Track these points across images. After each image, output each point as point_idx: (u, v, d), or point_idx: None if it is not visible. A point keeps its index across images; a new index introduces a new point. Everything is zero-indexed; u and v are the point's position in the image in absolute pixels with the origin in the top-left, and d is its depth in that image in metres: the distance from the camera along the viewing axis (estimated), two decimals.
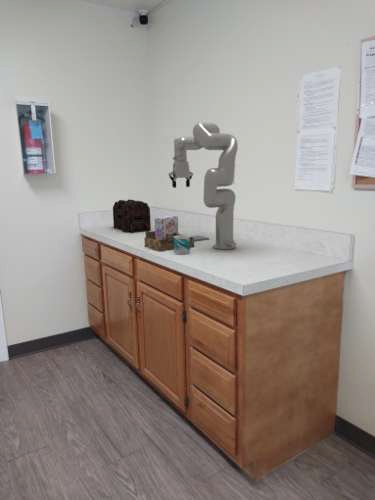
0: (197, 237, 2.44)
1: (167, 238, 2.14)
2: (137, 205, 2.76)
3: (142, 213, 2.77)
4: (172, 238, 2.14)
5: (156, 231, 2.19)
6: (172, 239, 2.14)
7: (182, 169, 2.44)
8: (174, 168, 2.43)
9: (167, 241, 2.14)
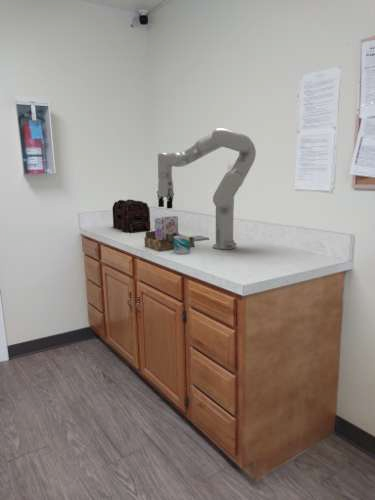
0: (197, 237, 2.44)
1: (168, 238, 2.14)
2: (137, 205, 2.76)
3: (142, 213, 2.77)
4: (173, 238, 2.14)
5: (156, 231, 2.19)
6: (173, 239, 2.14)
7: None
8: (170, 186, 2.14)
9: (168, 241, 2.14)
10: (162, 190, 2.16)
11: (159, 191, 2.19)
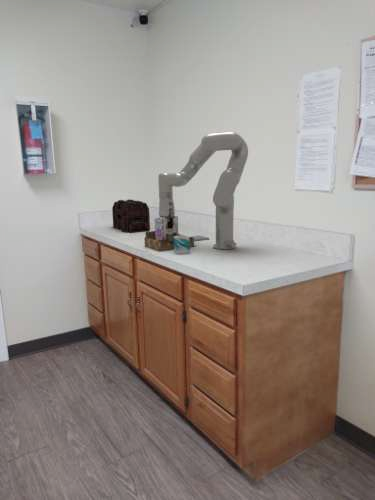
0: (197, 237, 2.44)
1: (168, 238, 2.14)
2: (136, 205, 2.76)
3: (141, 213, 2.77)
4: (173, 238, 2.14)
5: (156, 231, 2.19)
6: (173, 239, 2.14)
7: None
8: (171, 206, 2.16)
9: (168, 241, 2.14)
10: (163, 209, 2.18)
11: (160, 211, 2.22)
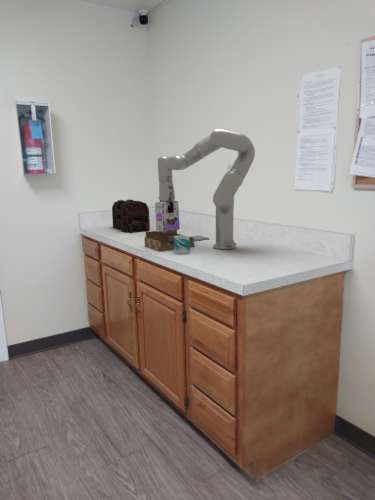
0: (197, 237, 2.44)
1: (168, 238, 2.14)
2: (136, 205, 2.76)
3: (141, 213, 2.78)
4: (173, 238, 2.14)
5: (156, 215, 2.17)
6: (173, 239, 2.14)
7: None
8: (171, 190, 2.15)
9: (168, 241, 2.15)
10: (163, 194, 2.16)
11: (160, 195, 2.20)
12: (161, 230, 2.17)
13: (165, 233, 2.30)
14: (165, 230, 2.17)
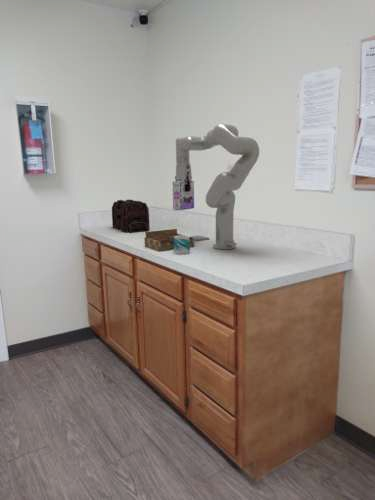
0: (197, 237, 2.44)
1: (169, 238, 2.14)
2: (136, 205, 2.76)
3: (141, 213, 2.78)
4: None
5: (174, 194, 2.27)
6: None
7: None
8: (188, 170, 2.25)
9: (169, 241, 2.14)
10: (181, 173, 2.27)
11: (177, 175, 2.30)
12: (178, 208, 2.27)
13: (165, 233, 2.30)
14: (182, 208, 2.27)
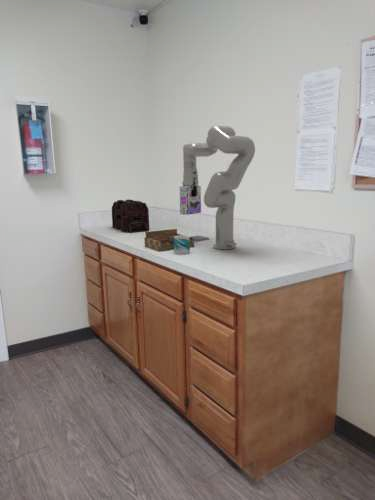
0: (197, 237, 2.44)
1: (169, 238, 2.14)
2: (135, 205, 2.77)
3: (141, 213, 2.78)
4: None
5: (181, 199, 2.33)
6: None
7: None
8: (195, 175, 2.31)
9: (169, 241, 2.14)
10: (188, 179, 2.32)
11: (184, 180, 2.36)
12: (185, 212, 2.33)
13: (165, 233, 2.30)
14: (188, 212, 2.33)
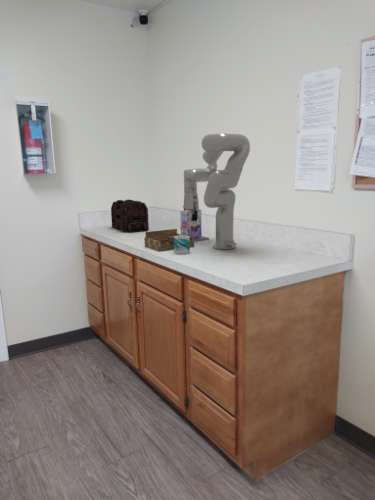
0: (197, 237, 2.44)
1: (169, 238, 2.13)
2: (135, 205, 2.76)
3: (140, 213, 2.78)
4: None
5: (181, 223, 2.36)
6: None
7: None
8: (196, 200, 2.33)
9: (169, 241, 2.14)
10: (188, 203, 2.35)
11: (185, 204, 2.39)
12: None
13: (165, 233, 2.30)
14: (189, 236, 2.35)
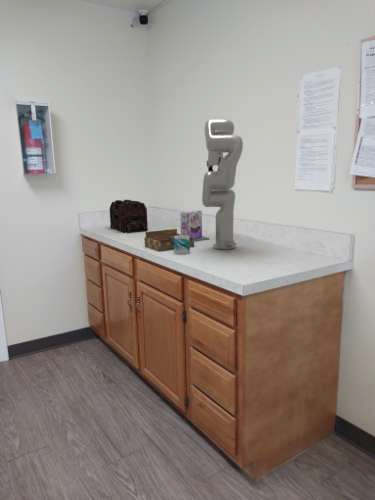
0: None
1: (170, 238, 2.13)
2: (134, 205, 2.76)
3: (139, 213, 2.77)
4: None
5: (181, 224, 2.36)
6: None
7: None
8: (221, 155, 2.34)
9: (170, 241, 2.13)
10: (213, 158, 2.36)
11: (209, 160, 2.39)
12: None
13: (165, 233, 2.30)
14: None
